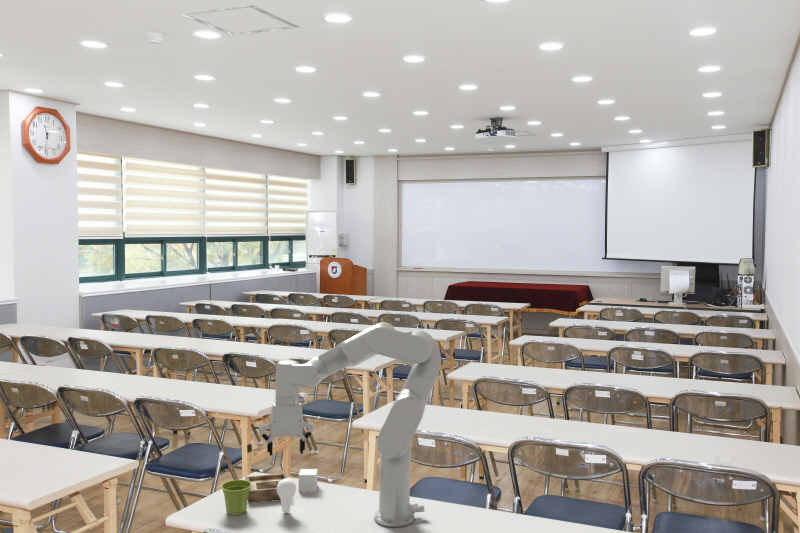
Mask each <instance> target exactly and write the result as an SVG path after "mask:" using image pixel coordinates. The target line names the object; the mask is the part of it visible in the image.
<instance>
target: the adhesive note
mask: <svg viewBox="0 0 800 533" xmlns="http://www.w3.org/2000/svg"><path fill="white" fill-rule="evenodd" d="M317 489H318V468H300V470H299V473H298V492H299V491H306V492H305V493H316V492H317Z"/></svg>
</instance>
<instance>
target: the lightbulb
mask: <svg viewBox="0 0 800 533" xmlns="http://www.w3.org/2000/svg"><path fill="white" fill-rule="evenodd" d="M296 491H297V485H296V483H295V481H294V480H293V479H290V478H288V479H283V480H281V481H280V482H279V483H278V485H277V493H278V495H279V497H280V499H281V500H280V502H281V503H280V505H281V512H283V513H284V514H288V513H290V512H291V506H292V500H293V498H294V496H295V493H296Z"/></svg>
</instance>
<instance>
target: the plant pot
mask: <svg viewBox="0 0 800 533" xmlns="http://www.w3.org/2000/svg"><path fill="white" fill-rule="evenodd" d="M251 486H252V483H251V482H249V481H247V480H245V479H232V480H228V481H226V482H223V483H222V484H221V486H220V488H221V490H222V492H223V495H224V501H225V502H224V503H225V508H226V509H225V510H226V513H227V515H229V514H230V515H231V516H237V515H238V516H240V515H242V514H243V513H246V511H247V508H248V495H249V491H250V487H251Z"/></svg>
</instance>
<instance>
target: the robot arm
mask: <svg viewBox="0 0 800 533" xmlns="http://www.w3.org/2000/svg"><path fill="white" fill-rule="evenodd" d="M377 355H380V356H383V357H387V358H390V359H395V360H398V361H401V362H404V363H409V364H412V366H411V368H410V371H409V373H408V375H407V378H406V379H405V383H404V384H403V386H402V388H401V389H400V392H399V393H398V394H397V395H396V398H395V399H394V401H393V403H392V406H391V409H390V410H389V412H388V414H387V417H386V419H385V421H384V423H383V424H382V426H381V428H380V431H379V432H378V436H377V438H376V447H377V448H376V449H377V451H378V452H379V454H380V456H379V486H378V487H379V490H378V491H379V496H378V498H379V499H378V500H379V505H378V510H377V511H376V512H375V513H374V515H373V519H374V521H375V523H377V524H379V525H381V526H384V527H388V528H389V527H390V528H391V527H392V528H400V527H406V526H408V525H410V524H412V523H413V522H414V521H415V513H424V512H425V505H419V504H418V503H410V499H411V498H410V495H411V494H410V492H411V455H412V453H411V452H412V440H413V438H414V436H415V435H416V432H417V430H418V428H419V425H420V424H421V422H422V419H423V416H424V413H425V410H426V405H427V401H428V400H429V398H430V396H431V393H432V391H433V388H434V386H435V384H436V381H437V379H438V376H439V374H440V371H441V365H442V357H441V356H442V355H441V350H440V348H439V345H438V343H437V341H436V340H435V338H434V337H433V336H432V335H431V334H429V333H428V332H426V331H424V330H416V331H414V332H412V333H407V332H403V331H399V330H396V329H395V327H394V326H393V324H391V323H389V322H385V321H380V322H378V323H376V324H373V325H371V326H370V327H369V328H366V329H364V330H362V331H361V332H359V333H357V334H355V335H353V336H351V337H350V338H349V337H348V339H346V340H345V339H344V341H342V342H340V343H338V344H337V345H335V346H334V347H332V348H331V349H330V348H329V349H328V350H326V351H324V352H323V353H320V354H319V355H317V356H314V357H313V358H312V359H309V360H308V361H307V362H305V363H302V364H301V363H299V361H297V360H293V359H292V360H291V359H289V360H287V359H285V360H280V361H278V362H277V364H276V366H275V400H274V403H272V406H271V411H270V412H271V413H270V419H269V420H270V421H269V422H267V423H265V424H264V425H262V426H261V427H259V428H258V431H259V434H260V436H261V437H262V439H263V440H265V442H267V443H266V444H267V445H266V446H267V449H266V450H267V451H266V452H267V453H269V456H273V445H274V444H273V440H274V439H275V438H279V437H281V438H284V437H285V438H286V437H297V436H298V437H299V438H300V439H299V454H304V451H305V450H306V441H307V440H308V439H309V437H310V436H311V435H312V433H313V431H314V429H315V426H314V425H313V424H311V423H309V422H306V421H305V420H304V413H303V406H302V403H301V401H305V396H304V395H301V394H300V393H301V391H300V387H303V388H315V387H317V386H318V385H319V384H320V383H321V382H322V381H323V380H325V378H328V377H329V376H332V375H333V374H335V373H337V372H339V371H341V370H343V369H345V368H348V367H356V366H359V365H360V364H362V363H364V362H366V361H368V360H369V359H371V358H373V357H375V356H377ZM304 427H305V428H307V431H306V432H305V433H303V432H304ZM268 429H269V432H270V433H269V434H268V435H267V433H265V432H266V431H267V430H268Z"/></svg>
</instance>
